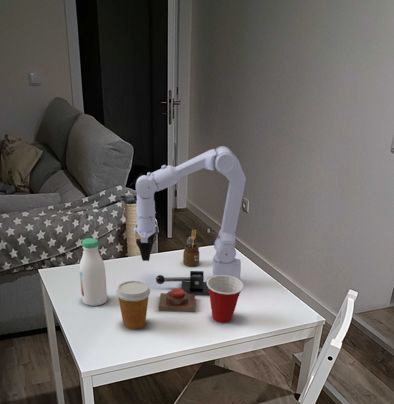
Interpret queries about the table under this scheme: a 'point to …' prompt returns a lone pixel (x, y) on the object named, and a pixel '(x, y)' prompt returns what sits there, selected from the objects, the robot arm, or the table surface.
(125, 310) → the disposable coffee cup
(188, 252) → the utensil holder
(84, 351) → the table surface
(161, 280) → the lever
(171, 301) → the button block
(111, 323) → the table surface
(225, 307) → the plastic cup
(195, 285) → the bracket
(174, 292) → the button
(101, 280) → the milk bottle
